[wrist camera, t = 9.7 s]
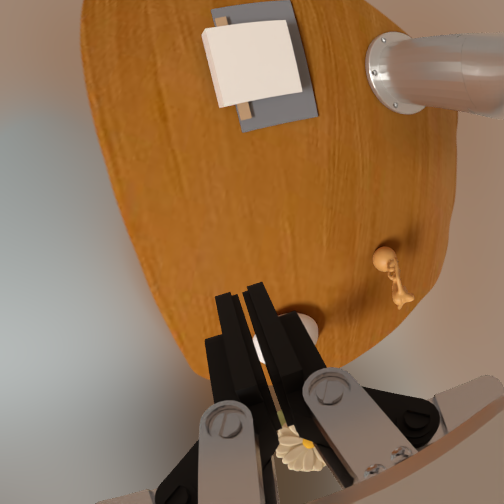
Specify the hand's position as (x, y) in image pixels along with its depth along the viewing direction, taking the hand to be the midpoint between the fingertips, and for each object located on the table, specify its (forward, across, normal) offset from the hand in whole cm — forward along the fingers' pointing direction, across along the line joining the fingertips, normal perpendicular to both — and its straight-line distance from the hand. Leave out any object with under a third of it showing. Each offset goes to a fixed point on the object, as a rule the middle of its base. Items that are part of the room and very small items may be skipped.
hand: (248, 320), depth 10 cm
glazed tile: (+24, -4, -11) cm, 27 cm away
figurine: (+27, -22, +20) cm, 40 cm away
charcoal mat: (+27, -10, -11) cm, 31 cm away
